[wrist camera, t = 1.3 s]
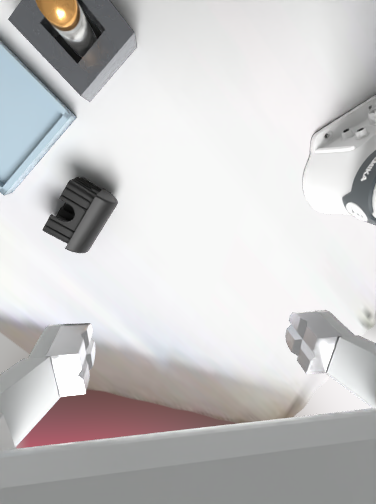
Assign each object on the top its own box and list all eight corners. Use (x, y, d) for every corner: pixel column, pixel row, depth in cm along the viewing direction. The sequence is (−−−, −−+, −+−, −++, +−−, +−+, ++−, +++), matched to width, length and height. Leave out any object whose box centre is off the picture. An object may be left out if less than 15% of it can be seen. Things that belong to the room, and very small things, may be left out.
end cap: (93, 243, 45) (83, 259, 39) (54, 222, 43) (38, 235, 37) (121, 197, 43) (115, 206, 36) (82, 173, 40) (69, 178, 34)
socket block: (77, -29, 31) (63, -59, 26) (136, 47, 35) (134, 32, 30) (28, 36, 33) (8, 19, 28) (89, 102, 37) (80, 95, 32)
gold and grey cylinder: (81, 18, 33) (50, -38, 23) (103, 43, 34) (82, 1, 24) (64, 40, 33) (26, -5, 23) (86, 64, 35) (59, 32, 25)
